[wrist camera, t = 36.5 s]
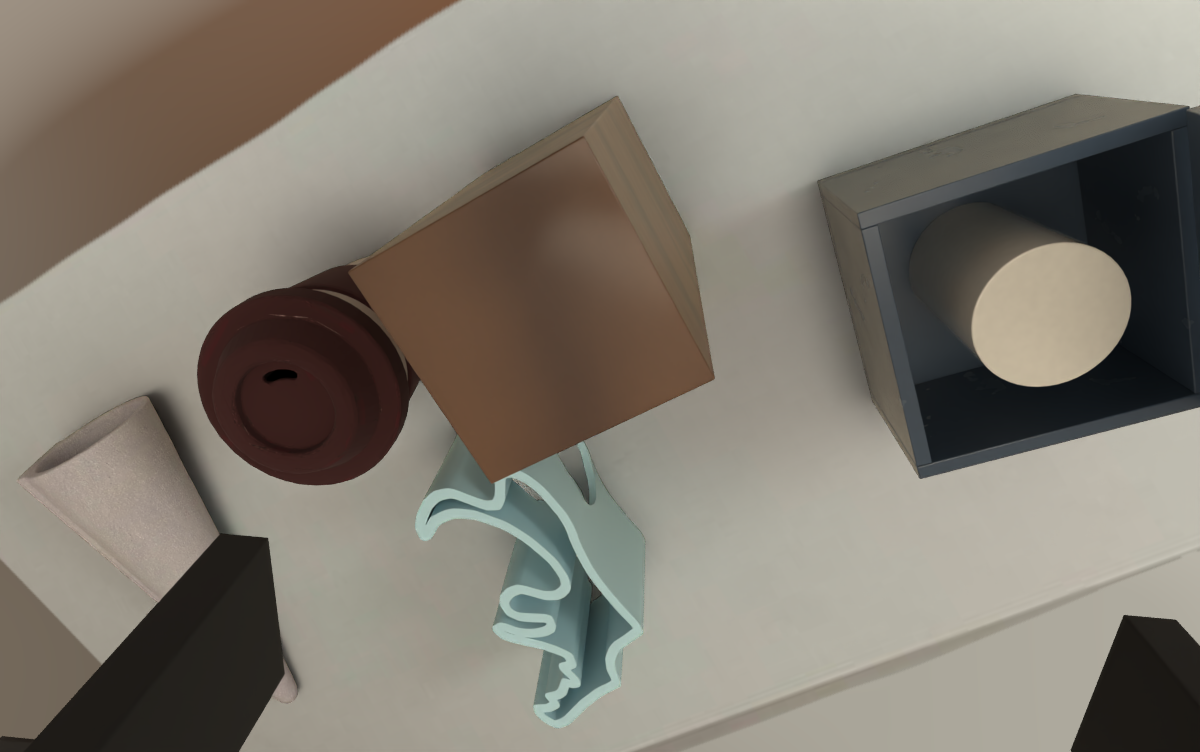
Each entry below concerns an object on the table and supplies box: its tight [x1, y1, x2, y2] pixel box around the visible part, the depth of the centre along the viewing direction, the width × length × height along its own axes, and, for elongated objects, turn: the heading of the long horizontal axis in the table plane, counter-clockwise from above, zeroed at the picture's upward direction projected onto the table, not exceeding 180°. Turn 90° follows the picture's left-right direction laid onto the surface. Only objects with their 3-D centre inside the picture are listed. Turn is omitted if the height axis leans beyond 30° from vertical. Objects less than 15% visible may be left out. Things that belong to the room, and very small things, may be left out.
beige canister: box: [909, 202, 1131, 387], centre depth 41 cm, size 7×7×10 cm
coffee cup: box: [197, 257, 420, 485], centre depth 43 cm, size 10×10×15 cm
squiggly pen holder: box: [415, 434, 645, 728], centre depth 50 cm, size 18×10×9 cm, turn 33°
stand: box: [348, 96, 715, 484], centre depth 36 cm, size 9×9×22 cm
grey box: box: [818, 94, 1200, 479], centre depth 42 cm, size 14×15×10 cm
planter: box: [17, 396, 298, 704], centre depth 56 cm, size 8×9×26 cm
